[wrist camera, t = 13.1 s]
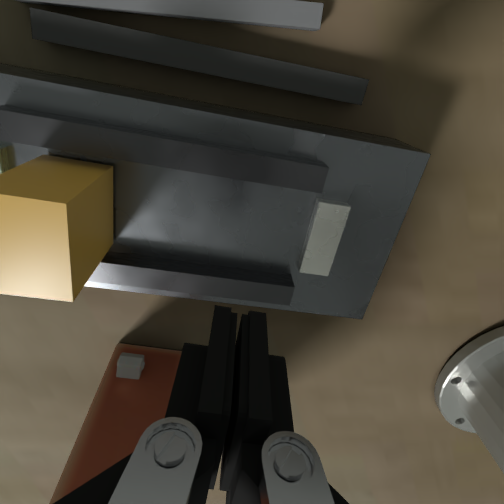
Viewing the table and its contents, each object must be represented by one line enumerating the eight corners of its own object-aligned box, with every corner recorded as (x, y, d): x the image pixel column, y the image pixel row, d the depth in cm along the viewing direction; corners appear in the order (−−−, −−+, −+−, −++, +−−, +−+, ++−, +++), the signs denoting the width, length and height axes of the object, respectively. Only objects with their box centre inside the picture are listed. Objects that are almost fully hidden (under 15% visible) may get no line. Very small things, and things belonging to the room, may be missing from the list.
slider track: (395, 138, 20) (444, 160, 15) (343, 283, 24) (369, 332, 20) (-61, 51, 17) (-171, 44, 12) (-23, 234, 21) (-93, 279, 17)
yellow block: (113, 165, 16) (66, 203, 11) (113, 243, 18) (72, 302, 13) (43, 154, 15) (-34, 188, 11) (50, 234, 17) (-12, 292, 13)
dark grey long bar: (361, 78, 18) (369, 79, 17) (354, 103, 19) (361, 105, 18) (42, 11, 16) (29, 7, 15) (45, 40, 17) (32, 38, 16)
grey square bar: (318, 6, 17) (323, 3, 16) (315, 31, 17) (319, 28, 16) (16, -25, 16) (3, -30, 15) (21, 2, 16) (9, -2, 15)
